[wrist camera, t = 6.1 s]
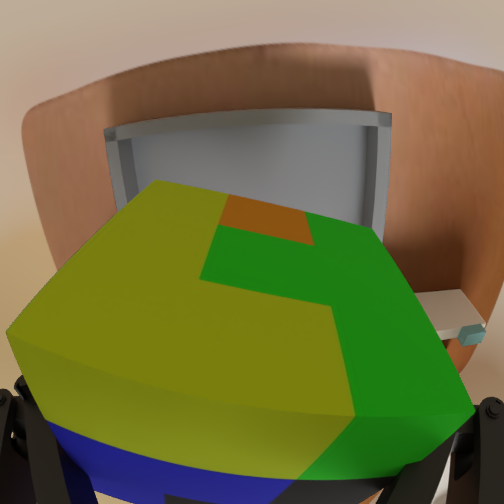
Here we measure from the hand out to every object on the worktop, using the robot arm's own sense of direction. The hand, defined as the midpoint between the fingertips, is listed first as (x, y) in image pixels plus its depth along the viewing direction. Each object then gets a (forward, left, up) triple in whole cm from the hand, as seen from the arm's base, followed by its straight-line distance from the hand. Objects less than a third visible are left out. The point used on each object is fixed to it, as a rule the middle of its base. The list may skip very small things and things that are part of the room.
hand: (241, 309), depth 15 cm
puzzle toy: (0, 0, -1) cm, 1 cm away
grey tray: (+1, 0, -12) cm, 12 cm away
